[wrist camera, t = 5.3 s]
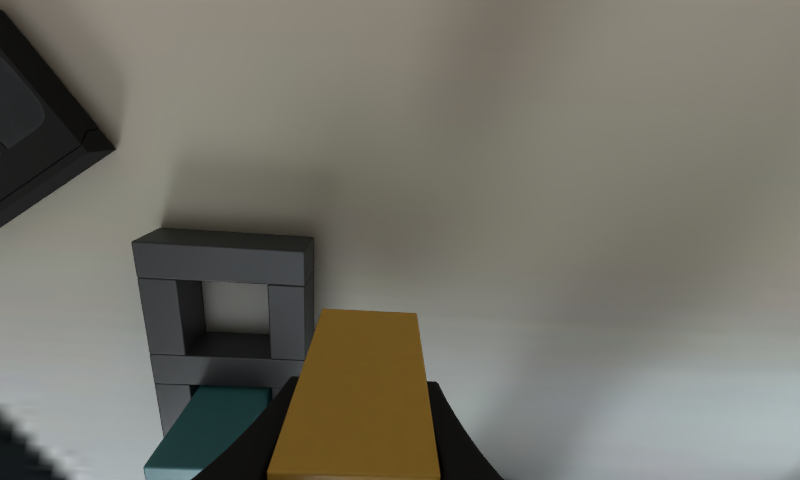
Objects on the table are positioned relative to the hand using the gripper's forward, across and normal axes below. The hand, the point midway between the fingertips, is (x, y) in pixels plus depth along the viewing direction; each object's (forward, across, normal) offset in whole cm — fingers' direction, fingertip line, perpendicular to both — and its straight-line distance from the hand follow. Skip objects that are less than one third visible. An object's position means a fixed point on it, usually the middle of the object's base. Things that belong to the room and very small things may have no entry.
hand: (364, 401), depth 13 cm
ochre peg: (+3, 0, 0) cm, 3 cm away
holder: (+10, +8, +5) cm, 13 cm away
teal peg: (+10, +8, +8) cm, 15 cm away
